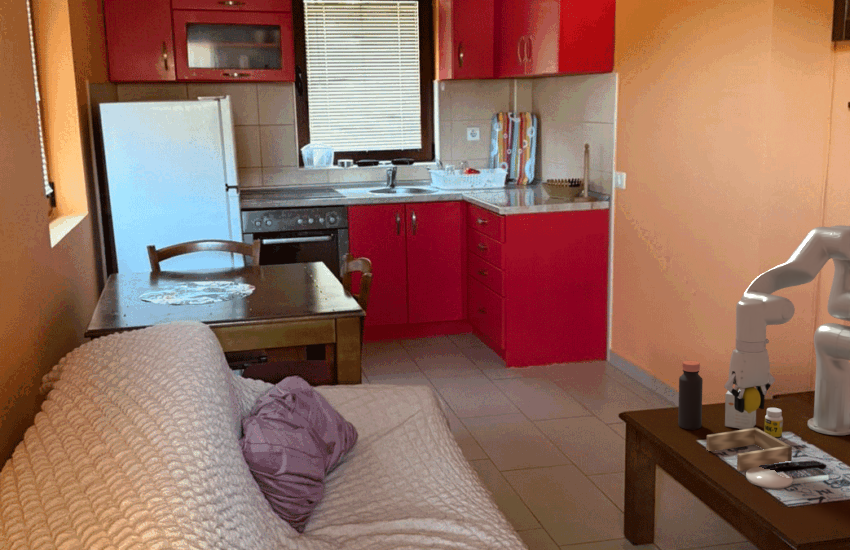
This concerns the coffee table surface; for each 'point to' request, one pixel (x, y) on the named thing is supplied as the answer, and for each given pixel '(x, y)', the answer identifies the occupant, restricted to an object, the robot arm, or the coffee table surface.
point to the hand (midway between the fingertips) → (749, 408)
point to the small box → (737, 415)
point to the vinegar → (690, 396)
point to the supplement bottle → (774, 422)
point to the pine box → (745, 461)
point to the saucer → (767, 478)
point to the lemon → (751, 399)
